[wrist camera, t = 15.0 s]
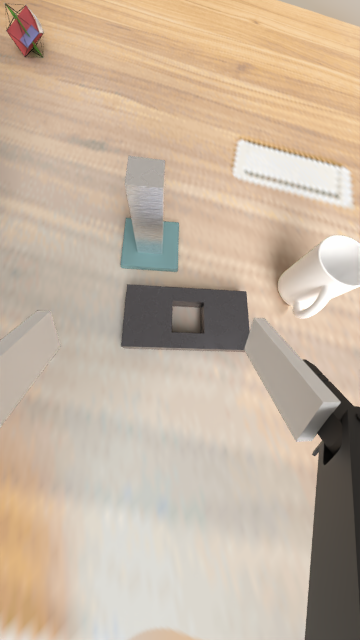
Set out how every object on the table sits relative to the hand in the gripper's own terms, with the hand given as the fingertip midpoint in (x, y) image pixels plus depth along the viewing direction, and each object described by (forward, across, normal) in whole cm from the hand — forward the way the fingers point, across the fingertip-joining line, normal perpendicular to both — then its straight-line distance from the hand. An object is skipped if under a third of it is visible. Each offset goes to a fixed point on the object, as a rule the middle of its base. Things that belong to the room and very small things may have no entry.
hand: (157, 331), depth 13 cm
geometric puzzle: (+65, -33, +37) cm, 82 cm away
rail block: (+17, +5, -9) cm, 20 cm away
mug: (+21, +25, -6) cm, 33 cm away
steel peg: (+27, -2, +2) cm, 27 cm away
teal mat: (+28, -2, +1) cm, 28 cm away
